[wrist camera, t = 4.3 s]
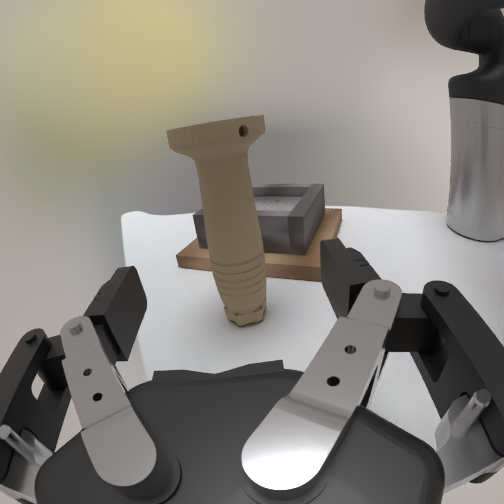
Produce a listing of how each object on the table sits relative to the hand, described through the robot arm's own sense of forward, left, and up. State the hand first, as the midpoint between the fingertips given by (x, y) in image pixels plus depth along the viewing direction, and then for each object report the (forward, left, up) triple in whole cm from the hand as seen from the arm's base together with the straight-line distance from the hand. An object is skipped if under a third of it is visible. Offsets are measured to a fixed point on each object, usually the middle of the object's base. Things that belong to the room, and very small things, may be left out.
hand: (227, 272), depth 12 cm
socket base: (+7, -22, -9) cm, 24 cm away
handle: (+4, -8, -9) cm, 12 cm away
